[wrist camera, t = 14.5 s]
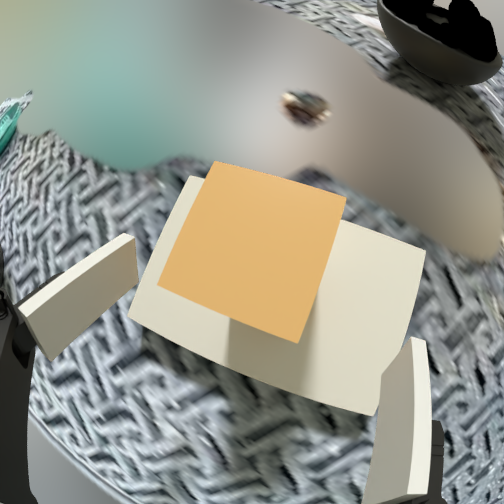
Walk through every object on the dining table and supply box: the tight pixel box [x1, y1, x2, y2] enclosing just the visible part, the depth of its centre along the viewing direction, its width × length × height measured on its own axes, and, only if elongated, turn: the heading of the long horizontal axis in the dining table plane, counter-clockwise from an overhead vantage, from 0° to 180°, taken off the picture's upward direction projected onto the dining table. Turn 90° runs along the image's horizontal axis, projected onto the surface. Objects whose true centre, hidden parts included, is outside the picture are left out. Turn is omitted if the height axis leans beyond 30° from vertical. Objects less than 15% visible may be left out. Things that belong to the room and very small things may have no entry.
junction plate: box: [127, 175, 426, 416], centre depth 19 cm, size 22×14×8 cm, turn 68°
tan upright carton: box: [157, 161, 347, 344], centre depth 15 cm, size 5×5×12 cm
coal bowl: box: [377, 0, 503, 86], centre depth 20 cm, size 20×20×19 cm
